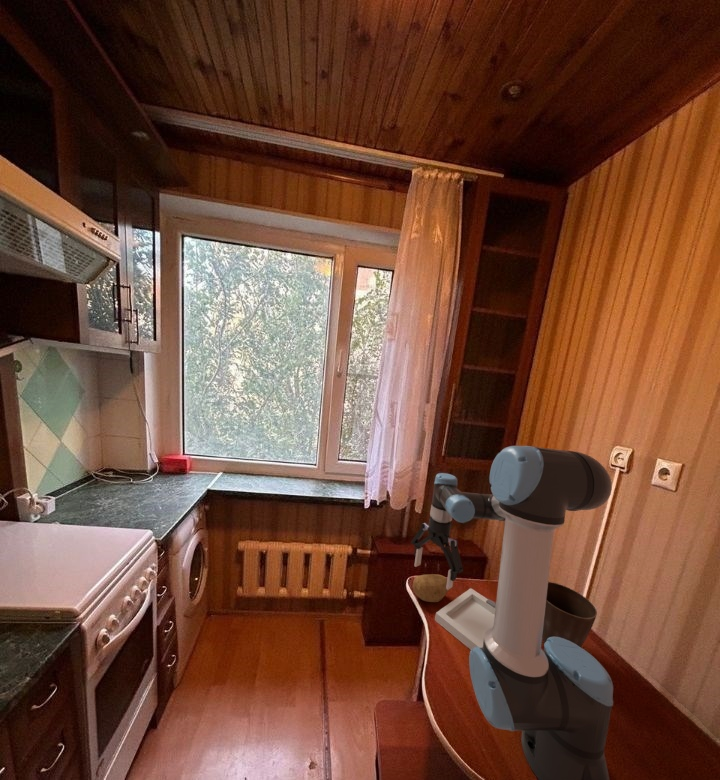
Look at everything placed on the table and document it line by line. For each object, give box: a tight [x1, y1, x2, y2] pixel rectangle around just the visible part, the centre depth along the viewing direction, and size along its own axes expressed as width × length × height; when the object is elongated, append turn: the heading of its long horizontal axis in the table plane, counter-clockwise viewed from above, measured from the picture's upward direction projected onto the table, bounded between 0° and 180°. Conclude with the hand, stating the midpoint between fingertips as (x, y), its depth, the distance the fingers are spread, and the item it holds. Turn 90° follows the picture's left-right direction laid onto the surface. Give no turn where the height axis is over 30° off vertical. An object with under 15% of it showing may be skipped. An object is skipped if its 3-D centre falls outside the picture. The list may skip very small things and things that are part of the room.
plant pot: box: [542, 581, 598, 648], centre depth 92 cm, size 15×15×16 cm
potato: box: [412, 573, 449, 603], centre depth 107 cm, size 10×14×8 cm
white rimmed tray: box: [434, 587, 496, 651], centre depth 98 cm, size 22×18×3 cm
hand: (432, 576), depth 107 cm, fingers open, 13 cm apart
